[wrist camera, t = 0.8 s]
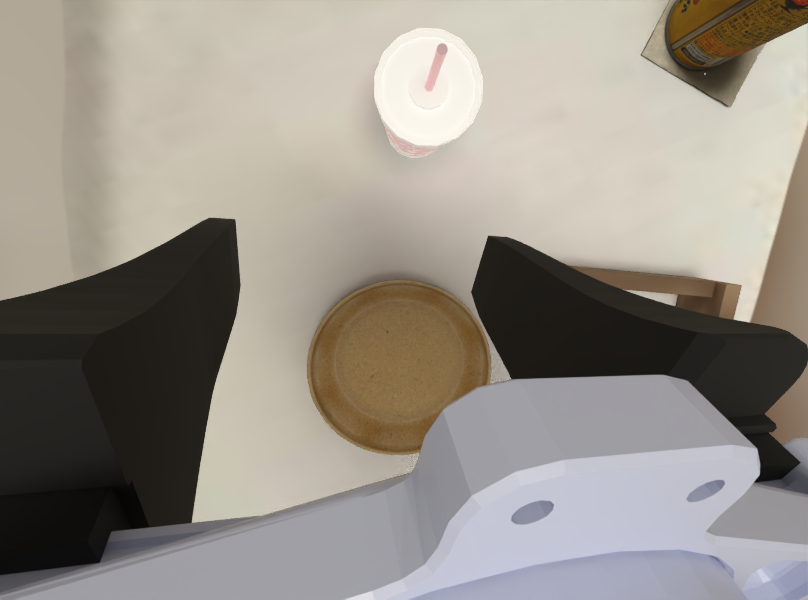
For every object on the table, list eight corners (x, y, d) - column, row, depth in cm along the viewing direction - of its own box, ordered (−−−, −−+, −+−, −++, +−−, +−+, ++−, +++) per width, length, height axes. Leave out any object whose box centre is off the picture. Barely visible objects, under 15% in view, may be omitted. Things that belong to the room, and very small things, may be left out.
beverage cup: (444, 176, 32) (492, 139, 18) (368, 158, 31) (358, 106, 18) (462, 95, 31) (528, -10, 17) (384, 75, 30) (386, -50, 17)
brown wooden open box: (650, 477, 38) (686, 510, 33) (487, 468, 37) (501, 501, 32) (695, 277, 34) (741, 285, 30) (517, 260, 33) (538, 266, 29)
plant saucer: (401, 470, 37) (402, 488, 34) (276, 365, 34) (267, 377, 32) (517, 356, 35) (528, 366, 33) (396, 238, 33) (397, 239, 30)
